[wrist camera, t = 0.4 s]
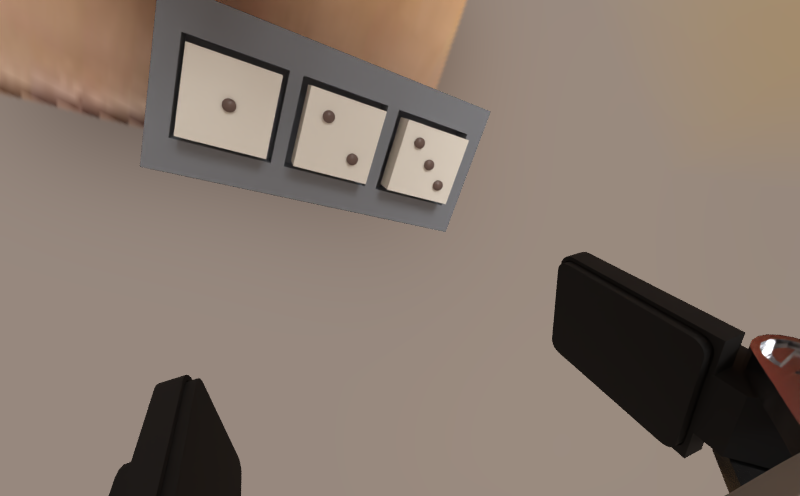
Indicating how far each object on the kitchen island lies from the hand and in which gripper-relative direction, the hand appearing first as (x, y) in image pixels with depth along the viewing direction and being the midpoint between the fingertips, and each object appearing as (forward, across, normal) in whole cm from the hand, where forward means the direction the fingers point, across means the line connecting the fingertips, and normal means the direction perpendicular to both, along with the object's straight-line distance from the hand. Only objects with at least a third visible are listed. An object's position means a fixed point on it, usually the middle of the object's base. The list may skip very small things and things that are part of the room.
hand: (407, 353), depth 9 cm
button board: (+28, -3, -2) cm, 28 cm away
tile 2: (+25, -3, -2) cm, 25 cm away
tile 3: (+25, -11, +2) cm, 27 cm away
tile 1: (+25, +4, -5) cm, 26 cm away
